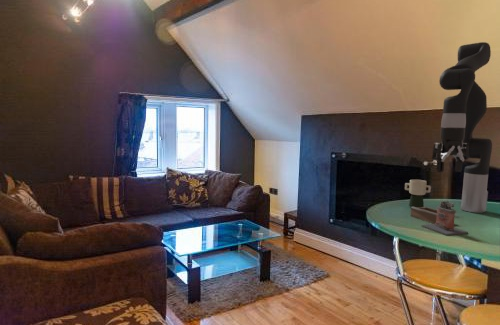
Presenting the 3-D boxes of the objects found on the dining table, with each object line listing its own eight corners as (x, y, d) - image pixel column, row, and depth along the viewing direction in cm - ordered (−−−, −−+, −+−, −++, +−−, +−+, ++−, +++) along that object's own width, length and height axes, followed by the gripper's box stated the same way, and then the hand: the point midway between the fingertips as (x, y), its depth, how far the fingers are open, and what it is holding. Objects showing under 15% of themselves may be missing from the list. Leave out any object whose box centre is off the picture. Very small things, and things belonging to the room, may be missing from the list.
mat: (442, 224, 134) (442, 223, 134) (467, 233, 124) (468, 231, 124) (421, 226, 131) (421, 225, 131) (446, 235, 120) (446, 233, 120)
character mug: (430, 208, 162) (432, 180, 160) (428, 211, 156) (430, 182, 154) (404, 205, 168) (406, 178, 166) (402, 207, 162) (404, 180, 160)
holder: (425, 214, 149) (426, 205, 149) (451, 223, 137) (452, 213, 136) (410, 215, 146) (411, 206, 146) (435, 224, 134) (436, 214, 134)
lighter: (432, 225, 131) (435, 199, 130) (441, 225, 131) (443, 199, 130) (447, 231, 123) (450, 203, 122) (456, 231, 123) (458, 203, 122)
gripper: (458, 126, 129) (455, 170, 131) (428, 126, 124) (425, 170, 126) (477, 127, 122) (473, 172, 124) (446, 126, 117) (442, 173, 119)
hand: (449, 171), depth 125 cm, fingers open, 8 cm apart
